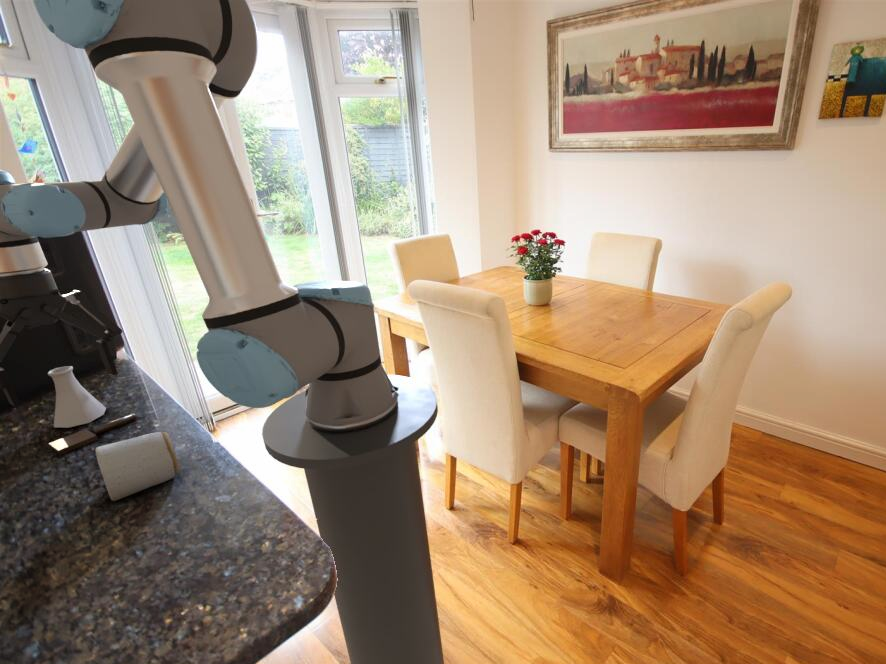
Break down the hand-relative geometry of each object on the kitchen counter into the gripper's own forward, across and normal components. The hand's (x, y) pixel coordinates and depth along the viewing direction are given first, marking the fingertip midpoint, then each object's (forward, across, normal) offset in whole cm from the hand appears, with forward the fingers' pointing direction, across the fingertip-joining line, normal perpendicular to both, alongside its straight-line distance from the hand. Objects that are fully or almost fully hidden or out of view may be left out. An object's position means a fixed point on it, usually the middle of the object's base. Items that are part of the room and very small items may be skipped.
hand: (67, 387), depth 83 cm
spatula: (+6, 0, +10) cm, 12 cm away
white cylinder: (+6, +3, +32) cm, 33 cm away
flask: (+7, 0, 0) cm, 7 cm away
